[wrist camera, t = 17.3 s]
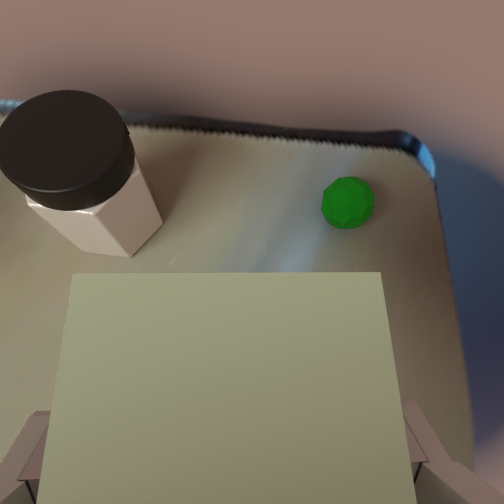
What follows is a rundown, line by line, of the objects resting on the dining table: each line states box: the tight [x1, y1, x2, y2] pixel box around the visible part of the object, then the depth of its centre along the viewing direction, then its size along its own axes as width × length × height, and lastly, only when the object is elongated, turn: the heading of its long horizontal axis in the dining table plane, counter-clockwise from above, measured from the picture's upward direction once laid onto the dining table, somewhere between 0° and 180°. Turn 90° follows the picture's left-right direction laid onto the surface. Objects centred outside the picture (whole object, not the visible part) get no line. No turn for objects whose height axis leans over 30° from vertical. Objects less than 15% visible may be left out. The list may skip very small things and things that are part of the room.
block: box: [36, 272, 417, 504], centre depth 9 cm, size 6×6×7 cm
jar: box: [0, 90, 163, 258], centre depth 28 cm, size 9×8×12 cm
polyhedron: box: [321, 177, 375, 229], centre depth 33 cm, size 5×5×5 cm
